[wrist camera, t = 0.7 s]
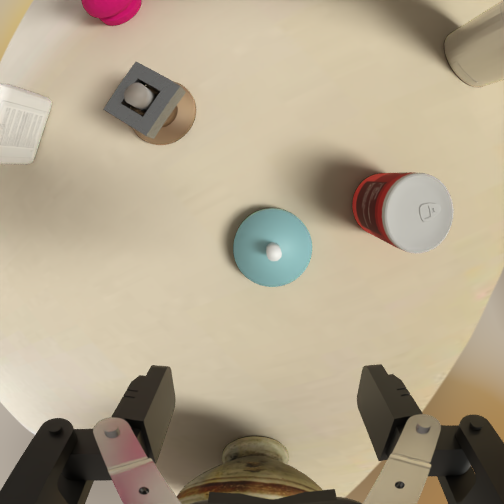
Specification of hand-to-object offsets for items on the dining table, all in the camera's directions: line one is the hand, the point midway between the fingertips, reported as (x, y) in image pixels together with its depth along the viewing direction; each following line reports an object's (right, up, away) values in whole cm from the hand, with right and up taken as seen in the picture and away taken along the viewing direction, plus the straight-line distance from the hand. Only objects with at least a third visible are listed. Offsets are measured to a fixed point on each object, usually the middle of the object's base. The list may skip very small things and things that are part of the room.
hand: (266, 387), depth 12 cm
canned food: (+15, +11, +25) cm, 32 cm away
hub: (+2, +6, +26) cm, 27 cm away
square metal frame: (-11, +21, +17) cm, 29 cm away
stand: (-11, +22, +23) cm, 34 cm away
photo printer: (-31, +23, +23) cm, 45 cm away
